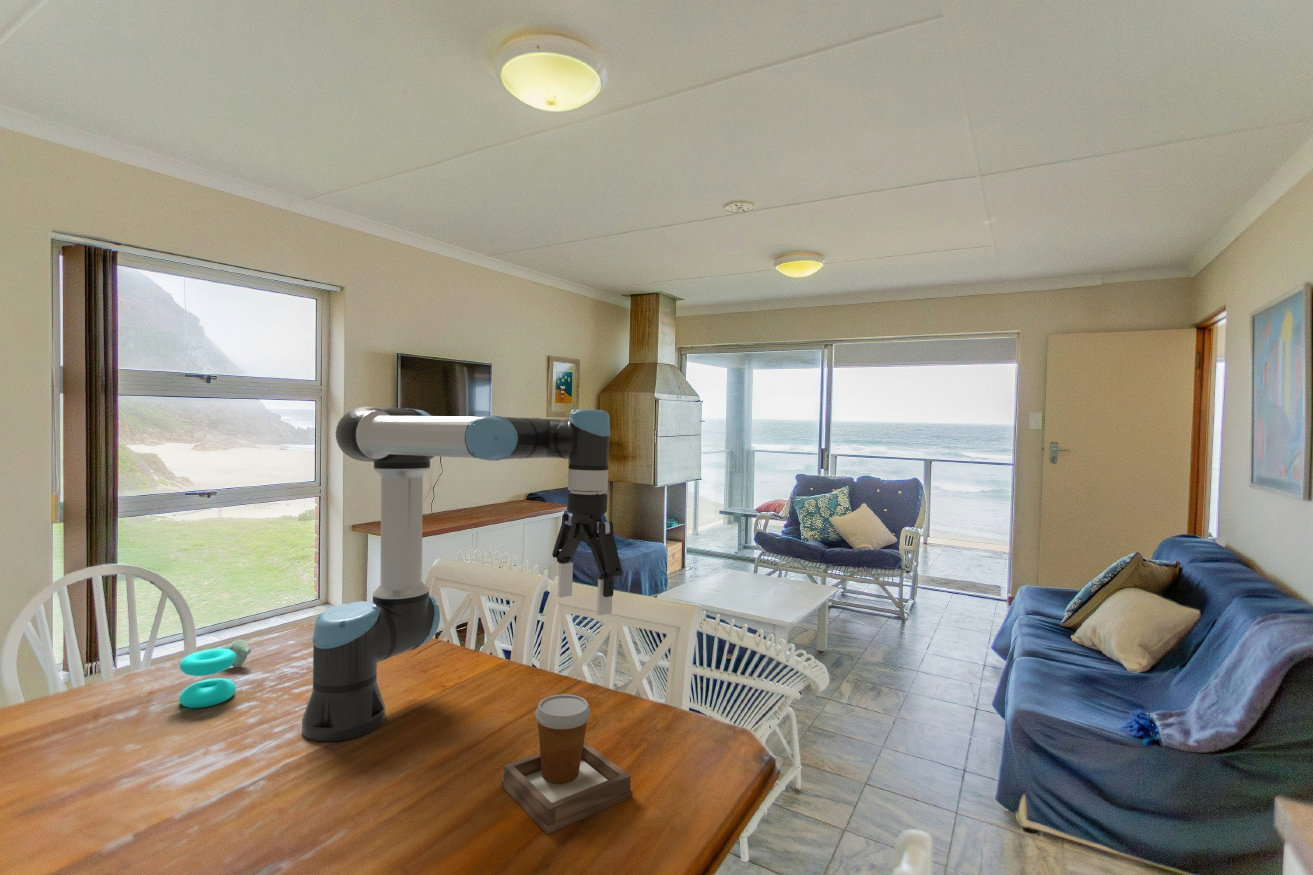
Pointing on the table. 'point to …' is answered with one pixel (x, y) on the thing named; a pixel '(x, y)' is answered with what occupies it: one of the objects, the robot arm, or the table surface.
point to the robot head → (239, 651)
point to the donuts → (208, 689)
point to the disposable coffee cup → (561, 736)
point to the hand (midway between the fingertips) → (583, 604)
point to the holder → (566, 789)
